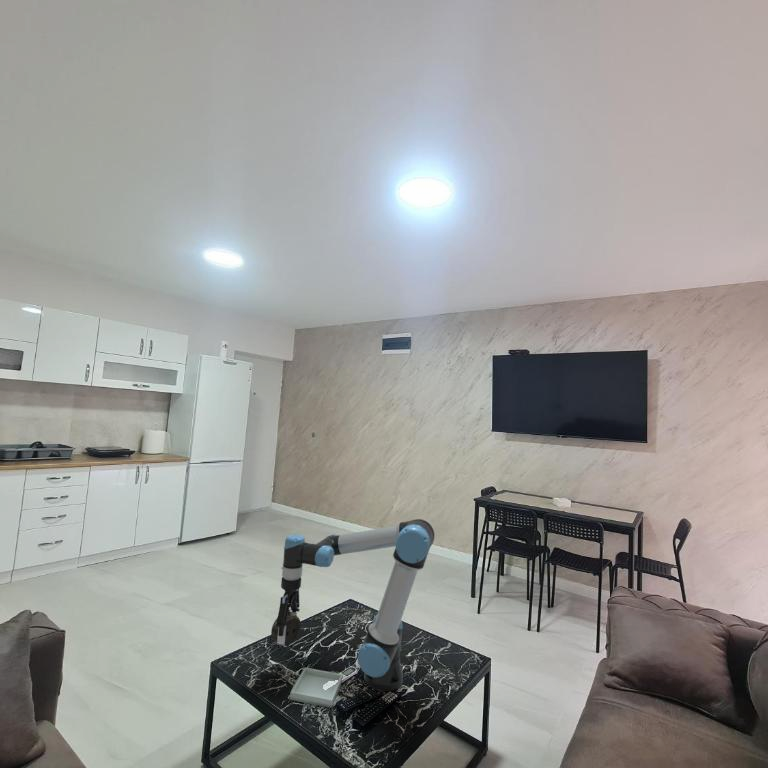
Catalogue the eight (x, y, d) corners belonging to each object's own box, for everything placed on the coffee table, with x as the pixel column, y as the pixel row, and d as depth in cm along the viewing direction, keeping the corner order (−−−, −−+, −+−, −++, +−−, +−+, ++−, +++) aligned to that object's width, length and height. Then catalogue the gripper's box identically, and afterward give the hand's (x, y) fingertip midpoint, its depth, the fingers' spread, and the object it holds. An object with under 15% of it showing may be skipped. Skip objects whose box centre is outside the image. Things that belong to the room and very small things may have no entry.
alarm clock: (293, 639, 165) (296, 596, 167) (301, 644, 161) (304, 601, 163) (268, 648, 157) (273, 603, 159) (276, 654, 153) (280, 608, 155)
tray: (342, 681, 158) (343, 674, 158) (331, 707, 143) (332, 700, 143) (304, 674, 161) (304, 667, 161) (289, 699, 146) (290, 692, 146)
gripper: (293, 566, 174) (288, 621, 172) (270, 587, 151) (264, 650, 149) (310, 568, 173) (305, 623, 171) (289, 589, 150) (284, 653, 148)
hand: (286, 636), depth 160 cm, fingers closed on alarm clock, 11 cm apart
